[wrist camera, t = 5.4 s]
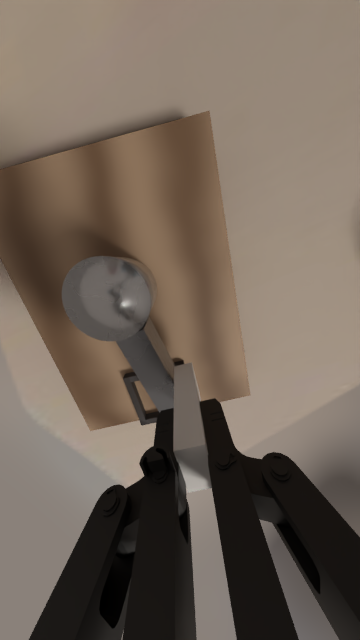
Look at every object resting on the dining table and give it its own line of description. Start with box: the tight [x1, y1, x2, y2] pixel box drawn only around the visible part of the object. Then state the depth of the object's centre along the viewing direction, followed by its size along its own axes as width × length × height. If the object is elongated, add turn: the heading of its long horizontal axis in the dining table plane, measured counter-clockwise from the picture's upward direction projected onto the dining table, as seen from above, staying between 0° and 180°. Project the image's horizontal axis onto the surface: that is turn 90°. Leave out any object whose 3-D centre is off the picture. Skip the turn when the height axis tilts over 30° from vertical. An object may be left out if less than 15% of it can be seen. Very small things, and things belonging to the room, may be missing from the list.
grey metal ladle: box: [62, 256, 175, 413], centre depth 14 cm, size 15×5×5 cm, turn 24°
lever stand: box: [0, 111, 250, 431], centre depth 17 cm, size 18×24×4 cm
